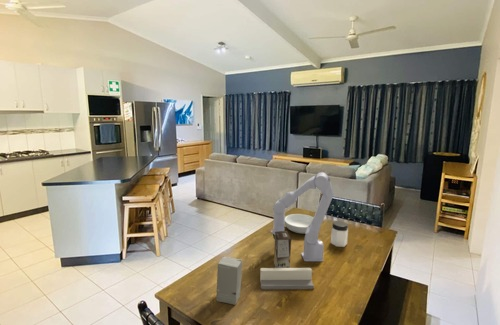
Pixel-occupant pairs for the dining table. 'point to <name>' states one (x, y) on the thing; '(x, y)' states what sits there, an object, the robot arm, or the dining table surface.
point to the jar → (339, 233)
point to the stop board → (286, 278)
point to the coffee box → (282, 249)
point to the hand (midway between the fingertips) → (278, 247)
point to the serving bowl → (298, 222)
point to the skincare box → (229, 280)
